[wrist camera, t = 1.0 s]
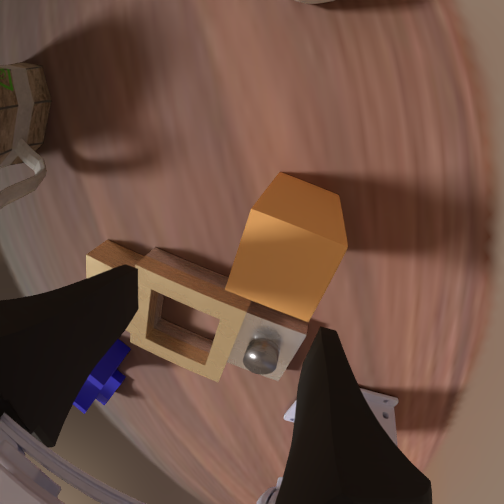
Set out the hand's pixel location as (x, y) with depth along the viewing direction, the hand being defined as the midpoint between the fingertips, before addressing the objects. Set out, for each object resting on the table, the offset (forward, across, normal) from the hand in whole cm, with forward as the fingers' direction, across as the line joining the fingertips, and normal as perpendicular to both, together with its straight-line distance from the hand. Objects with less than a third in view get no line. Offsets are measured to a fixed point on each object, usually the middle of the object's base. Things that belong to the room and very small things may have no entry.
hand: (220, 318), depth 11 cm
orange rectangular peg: (+10, -2, -1) cm, 11 cm away
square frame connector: (+10, +4, +9) cm, 15 cm away
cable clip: (+11, +14, +23) cm, 29 cm away
